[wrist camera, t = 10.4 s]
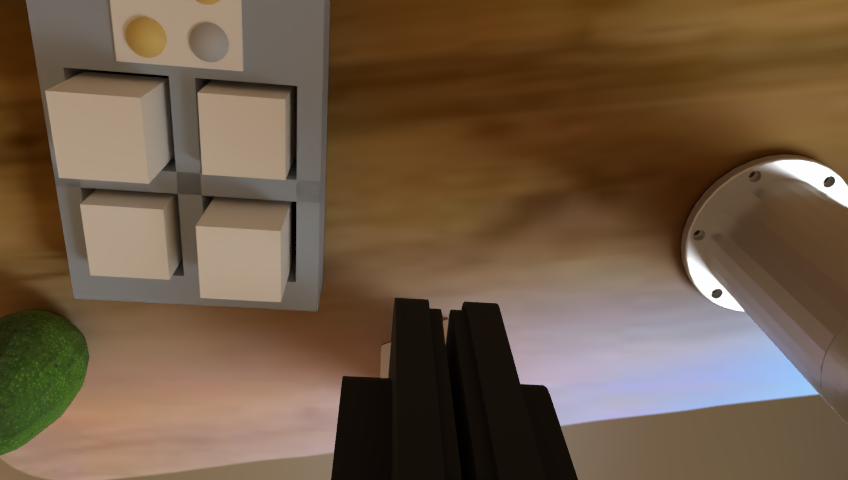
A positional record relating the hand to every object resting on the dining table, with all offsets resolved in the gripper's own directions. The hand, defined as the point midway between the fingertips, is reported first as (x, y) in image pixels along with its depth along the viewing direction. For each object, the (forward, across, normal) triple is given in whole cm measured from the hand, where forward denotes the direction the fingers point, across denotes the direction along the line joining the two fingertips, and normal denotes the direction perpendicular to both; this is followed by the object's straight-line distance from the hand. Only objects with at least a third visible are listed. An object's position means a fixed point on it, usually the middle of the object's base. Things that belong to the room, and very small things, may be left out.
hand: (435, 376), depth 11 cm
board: (+35, +13, +7) cm, 38 cm away
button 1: (+33, +17, +6) cm, 37 cm away
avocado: (+35, +25, +24) cm, 49 cm away
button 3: (+35, +9, +6) cm, 36 cm away
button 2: (+35, +17, +13) cm, 41 cm away
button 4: (+33, +9, +13) cm, 36 cm away
